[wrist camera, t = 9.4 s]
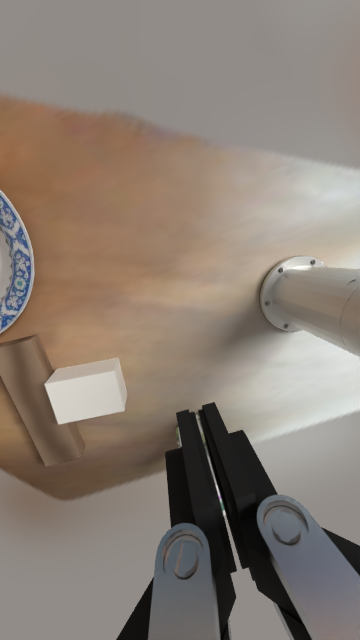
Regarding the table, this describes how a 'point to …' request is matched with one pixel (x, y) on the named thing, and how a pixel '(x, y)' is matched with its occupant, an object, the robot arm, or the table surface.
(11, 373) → the plank
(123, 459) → the table surface
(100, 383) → the block
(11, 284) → the ceramic plate
